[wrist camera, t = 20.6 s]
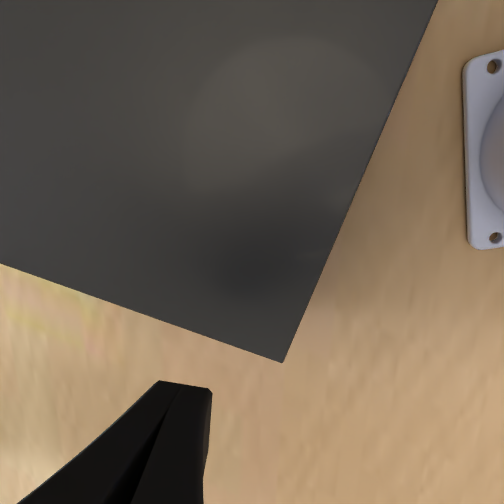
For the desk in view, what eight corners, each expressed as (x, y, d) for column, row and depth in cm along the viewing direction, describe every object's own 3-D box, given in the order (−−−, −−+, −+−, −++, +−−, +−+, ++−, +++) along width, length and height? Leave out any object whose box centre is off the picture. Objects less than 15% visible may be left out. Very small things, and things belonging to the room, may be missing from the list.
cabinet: (85, -120, 14) (-28, -247, 9) (415, -12, 14) (475, -86, 9) (50, 220, 19) (-35, 252, 14) (288, 304, 19) (282, 364, 14)
